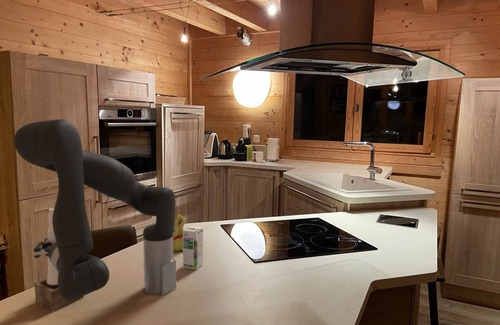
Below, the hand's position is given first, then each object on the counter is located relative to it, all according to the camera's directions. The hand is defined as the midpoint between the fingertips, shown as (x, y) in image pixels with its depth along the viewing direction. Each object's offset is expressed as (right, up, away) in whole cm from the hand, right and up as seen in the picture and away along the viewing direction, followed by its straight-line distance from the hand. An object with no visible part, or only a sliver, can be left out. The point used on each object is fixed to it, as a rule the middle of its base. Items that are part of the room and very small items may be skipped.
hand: (54, 238), depth 106 cm
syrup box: (+38, -16, +25) cm, 48 cm away
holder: (+1, -18, 0) cm, 19 cm away
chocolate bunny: (+29, -14, +41) cm, 52 cm away
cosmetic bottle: (+2, -12, -1) cm, 13 cm away
